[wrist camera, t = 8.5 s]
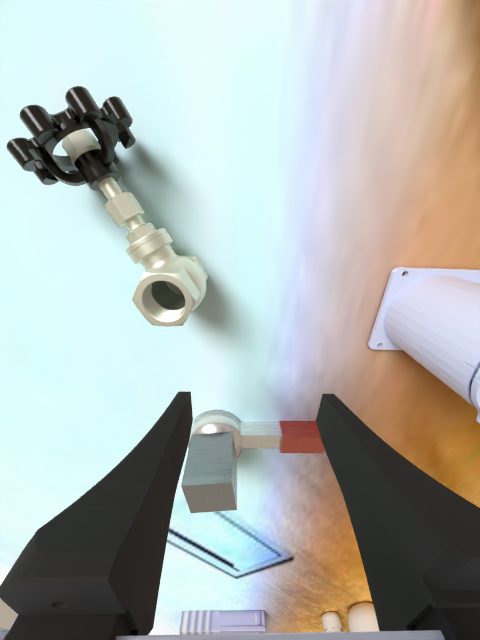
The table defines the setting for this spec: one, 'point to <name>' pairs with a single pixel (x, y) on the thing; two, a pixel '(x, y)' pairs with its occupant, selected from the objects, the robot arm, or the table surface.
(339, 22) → the table surface
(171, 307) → the valve
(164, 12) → the table surface
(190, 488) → the brushed metal block
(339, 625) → the cosmetic set
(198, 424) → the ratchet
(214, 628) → the gaming console
